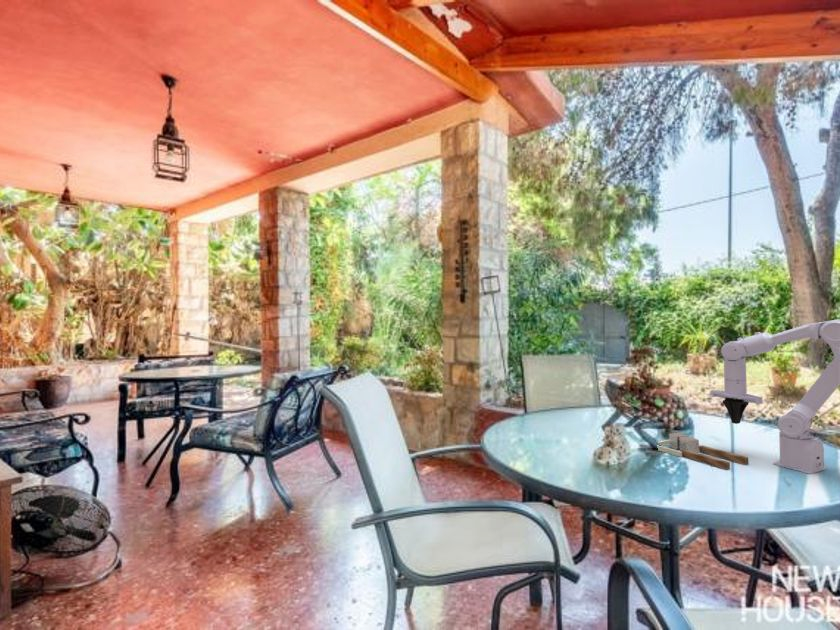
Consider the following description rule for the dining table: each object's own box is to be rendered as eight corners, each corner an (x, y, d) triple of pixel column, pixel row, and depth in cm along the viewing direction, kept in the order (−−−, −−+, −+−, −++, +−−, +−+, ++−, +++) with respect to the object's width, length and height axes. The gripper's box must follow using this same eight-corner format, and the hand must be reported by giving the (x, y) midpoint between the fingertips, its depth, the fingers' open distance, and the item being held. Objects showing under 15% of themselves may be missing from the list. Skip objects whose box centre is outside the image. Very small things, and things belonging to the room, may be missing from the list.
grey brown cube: (699, 454, 147) (698, 440, 147) (686, 454, 147) (686, 440, 147) (691, 450, 151) (690, 436, 151) (679, 450, 151) (678, 437, 151)
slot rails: (748, 464, 136) (748, 457, 136) (726, 470, 132) (726, 463, 132) (702, 451, 149) (702, 445, 149) (681, 456, 145) (681, 450, 145)
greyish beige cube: (688, 450, 151) (688, 436, 151) (677, 450, 151) (677, 436, 151) (680, 446, 155) (680, 433, 155) (669, 447, 155) (669, 433, 155)
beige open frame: (705, 451, 149) (705, 446, 149) (681, 457, 144) (680, 452, 144) (674, 442, 159) (674, 438, 159) (650, 447, 154) (650, 443, 154)
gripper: (704, 377, 150) (705, 419, 150) (751, 384, 136) (752, 429, 137) (718, 376, 153) (719, 417, 153) (766, 381, 139) (767, 426, 140)
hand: (735, 423), depth 145 cm, fingers closed
